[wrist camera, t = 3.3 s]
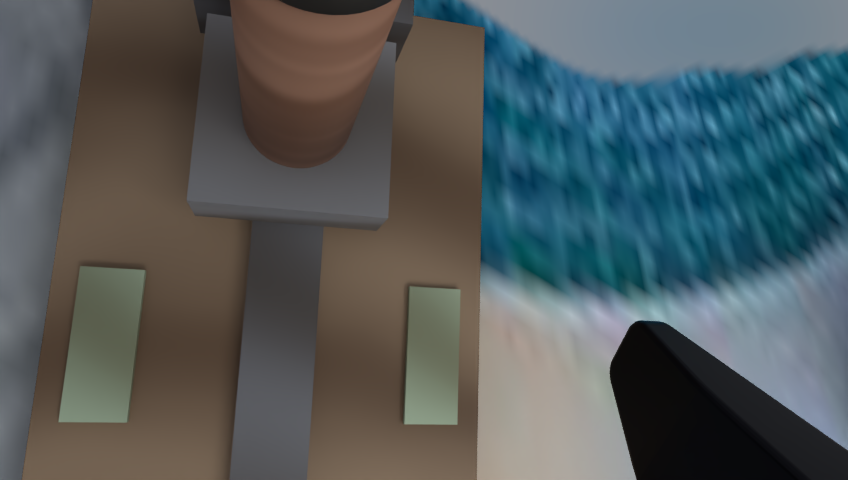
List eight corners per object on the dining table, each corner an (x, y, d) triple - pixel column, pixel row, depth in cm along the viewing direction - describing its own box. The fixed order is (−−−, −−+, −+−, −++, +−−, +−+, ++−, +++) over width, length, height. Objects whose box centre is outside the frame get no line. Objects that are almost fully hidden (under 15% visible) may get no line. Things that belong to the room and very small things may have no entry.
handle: (376, 230, 18) (525, 69, 7) (194, 216, 16) (76, -1, 6) (384, 71, 19) (527, -268, 8) (212, 46, 17) (135, -385, 7)
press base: (453, 809, 18) (503, 932, 14) (-17, 880, 15) (-112, 1059, 11) (470, 48, 22) (511, -13, 18) (111, -10, 19) (73, -96, 15)
